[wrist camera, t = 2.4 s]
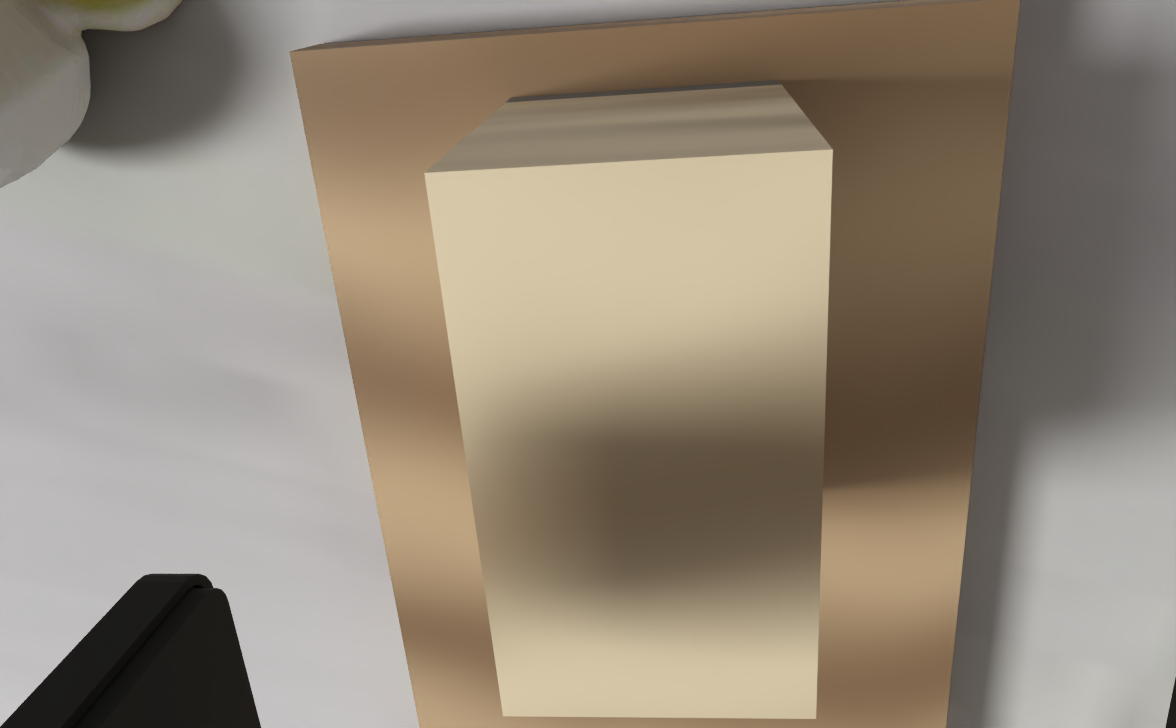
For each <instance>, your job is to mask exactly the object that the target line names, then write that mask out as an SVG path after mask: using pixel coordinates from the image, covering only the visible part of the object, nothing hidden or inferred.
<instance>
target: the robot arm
mask: <svg viewBox="0 0 1176 728" xmlns="http://www.w3.org/2000/svg"><path fill="white" fill-rule="evenodd" d="M0 728H261V726H260V722H259V718H258V714H257V710H256V706H255V703H254V699H253V695H252V691H251V687H250V683H249V679H248V676H247V672H246V668H245V664H244V660H243V656H242V652H241V649H240V645H239V641H238V637H237V633H236V629H235V625H234V622H233V618H232V614H231V610H230V606H229V602H228V599H227V597H226V594H225V593H224V592H223V591H222V590H221V589H218V588H213V586H212V583H211V582H210V580H209V579H208V578H207V577H206V576H204V575H201V574H149V575H145V576H143V577H142V578H140V579H139V580H138V581H137V582H136V583H135V584H134V585H133V586H132V587H131V588H130V589H129V590H128V591H127V592H126V593H125V594H124V595H123V596H122V598H121V599H120V600H119V601H118V602H117V603H116V604H115V605H114V606H113V607H112V608H111V609H110V610H109V611H108V612H107V614H106V615H105V616H104V617H103V618H102V619H101V620H100V621H99V622H98V623H97V624H96V625H95V626H94V627H93V628H92V630H91V631H90V632H89V633H88V634H87V635H86V636H85V637H84V638H83V639H82V640H81V641H80V642H79V643H78V645H77V646H76V647H75V648H74V649H73V650H72V651H71V652H70V653H69V654H68V655H67V656H66V657H65V658H64V659H63V661H62V662H61V663H60V664H59V665H58V666H57V667H56V668H55V669H54V670H53V671H52V672H51V673H50V674H49V675H48V677H47V678H46V679H45V680H44V681H43V682H42V683H41V684H40V685H39V686H38V687H37V688H36V689H35V690H34V691H33V693H32V694H31V695H30V696H29V697H28V698H27V699H26V700H25V701H24V702H23V703H22V704H21V705H20V706H19V707H18V709H17V710H16V711H15V712H14V713H13V714H12V715H11V716H10V717H9V718H8V719H7V720H6V721H5V722H4V723H3V725H2V726H1V727H0ZM1166 728H1176V679H1175V684H1174V689H1173V694H1172V698H1171V703H1170V708H1169V713H1168V718H1167V723H1166Z"/></svg>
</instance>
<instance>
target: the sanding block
mask: <svg viewBox="0 0 1176 728" xmlns="http://www.w3.org/2000/svg"><path fill="white" fill-rule="evenodd" d="M832 161H833V149H832V148H831V146H830V145H829V144H828V143H827V141H826V140H825V139H824V138H823V136H822V135H821V134H820V133H819V131H818V130H817V129H816V127H815V126H814V125H813V124H812V122H811V121H810V120H809V119H808V117H807V116H806V115H805V114H804V112H803V111H802V110H801V109H800V107H799V106H798V105H797V103H796V102H795V101H794V100H793V98H792V97H791V96H790V95H789V93H788V92H787V91H786V90H785V88H784V87H783V86H782V84H781V83H780V82H779V81H778V80H769V81H754V82H739V83H724V84H708V85H693V86H678V87H663V88H648V89H633V90H617V91H602V92H587V93H572V94H557V95H542V96H527V97H511V98H510V99H509V100H508V101H506V102H505V103H504V104H503V105H502V106H501V107H500V108H498V109H497V110H496V111H495V112H494V113H493V114H491V115H490V116H489V117H488V118H487V119H486V120H485V121H483V122H482V123H481V124H480V125H479V126H478V127H477V128H475V129H474V130H473V131H472V132H471V133H470V134H468V135H467V136H466V137H465V138H464V139H463V140H462V141H460V142H459V143H458V144H457V145H456V146H455V147H454V148H452V149H451V150H450V151H449V152H448V153H447V154H445V155H444V156H443V157H442V158H441V159H440V160H439V161H437V162H436V163H435V164H434V165H433V166H432V167H430V168H429V169H428V170H427V171H426V172H425V173H424V175H425V182H426V189H427V196H428V203H429V209H430V216H431V223H432V230H433V237H434V244H435V251H436V258H437V265H438V271H439V278H440V285H441V292H442V299H443V306H444V313H445V320H446V327H447V333H448V340H449V347H450V354H451V361H452V368H453V375H454V382H455V389H456V395H457V402H458V409H459V416H460V423H461V430H462V437H463V444H464V451H465V457H466V464H467V471H468V478H469V485H470V492H471V499H472V506H473V513H474V519H475V526H476V533H477V540H478V547H479V554H480V561H481V568H482V575H483V581H484V588H485V595H486V602H487V609H488V616H489V623H490V630H491V637H492V643H493V650H494V657H495V664H496V671H497V678H498V685H499V692H500V699H501V706H502V712H503V716H521V717H639V718H757V719H816V706H817V672H818V638H819V604H820V570H821V536H822V502H823V468H824V434H825V400H826V366H827V331H828V297H829V263H830V229H831V195H832Z"/></svg>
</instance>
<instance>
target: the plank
mask: <svg viewBox="0 0 1176 728" xmlns="http://www.w3.org/2000/svg"><path fill="white" fill-rule="evenodd" d="M1019 8H1020V0H906V1H893V2H879V3H866V4H852V5H839V6H825V7H812V8H798V9H785V10H771V11H758V12H744V13H731V14H717V15H704V16H691V17H677V18H664V19H650V20H637V21H623V22H610V23H596V24H583V25H569V26H556V27H542V28H529V29H515V30H502V31H488V32H475V33H461V34H448V35H434V36H421V37H407V38H394V39H380V40H367V41H353V42H340V43H326V44H318V45H314V46H310V47H306V48H302V49H298V50H294V51H291V52H290V57H291V62H292V67H293V72H294V77H295V83H296V88H297V93H298V98H299V103H300V109H301V114H302V119H303V124H304V129H305V135H306V140H307V145H308V150H309V155H310V160H311V166H312V171H313V176H314V181H315V186H316V192H317V197H318V202H319V207H320V212H321V218H322V223H323V228H324V233H325V238H326V243H327V249H328V254H329V259H330V264H331V269H332V275H333V280H334V285H335V290H336V295H337V301H338V306H339V311H340V316H341V321H342V326H343V332H344V337H345V342H346V347H347V352H348V358H349V363H350V368H351V373H352V378H353V384H354V389H355V394H356V399H357V404H358V409H359V415H360V420H361V425H362V430H363V435H364V441H365V446H366V451H367V456H368V461H369V467H370V472H371V477H372V482H373V487H374V493H375V498H376V503H377V508H378V513H379V518H380V524H381V529H382V534H383V539H384V544H385V550H386V555H387V560H388V565H389V570H390V576H391V581H392V586H393V591H394V596H395V601H396V607H397V612H398V617H399V622H400V627H401V633H402V638H403V643H404V648H405V653H406V659H407V664H408V669H409V674H410V679H411V684H412V690H413V695H414V700H415V705H416V710H417V716H418V721H419V726H420V728H946V722H947V712H948V702H949V692H950V683H951V673H952V663H953V653H954V643H955V634H956V624H957V614H958V604H959V594H960V585H961V575H962V565H963V555H964V546H965V536H966V526H967V516H968V506H969V497H970V487H971V477H972V467H973V458H974V448H975V438H976V428H977V418H978V409H979V399H980V389H981V379H982V370H983V360H984V350H985V340H986V330H987V321H988V311H989V301H990V291H991V282H992V272H993V262H994V252H995V242H996V233H997V223H998V213H999V203H1000V194H1001V184H1002V174H1003V164H1004V154H1005V145H1006V135H1007V125H1008V115H1009V106H1010V96H1011V86H1012V76H1013V66H1014V57H1015V47H1016V37H1017V27H1018V17H1019ZM769 80H778V81H779V82H780V83H781V84H782V86H783V87H784V88H785V90H786V91H787V92H788V93H789V95H790V96H791V97H792V98H793V100H794V101H795V102H796V103H797V105H798V106H799V107H800V109H801V110H802V111H803V112H804V114H805V115H806V116H807V117H808V119H809V120H810V121H811V122H812V124H813V125H814V126H815V127H816V129H817V130H818V131H819V133H820V134H821V135H822V136H823V138H824V139H825V140H826V141H827V143H828V144H829V145H830V146H831V148H832V149H833V161H832V195H831V229H830V263H829V297H828V331H827V366H826V400H825V434H824V468H823V502H822V536H821V570H820V604H819V638H818V672H817V706H816V719H757V718H639V717H521V716H503V712H502V706H501V699H500V692H499V685H498V678H497V671H496V664H495V657H494V650H493V643H492V637H491V630H490V623H489V616H488V609H487V602H486V595H485V588H484V581H483V575H482V568H481V561H480V554H479V547H478V540H477V533H476V526H475V519H474V513H473V506H472V499H471V492H470V485H469V478H468V471H467V464H466V457H465V451H464V444H463V437H462V430H461V423H460V416H459V409H458V402H457V395H456V389H455V382H454V375H453V368H452V361H451V354H450V347H449V340H448V333H447V327H446V320H445V313H444V306H443V299H442V292H441V285H440V278H439V271H438V265H437V258H436V251H435V244H434V237H433V230H432V223H431V216H430V209H429V203H428V196H427V189H426V182H425V175H424V173H425V172H426V171H427V170H428V169H429V168H430V167H432V166H433V165H434V164H435V163H436V162H437V161H439V160H440V159H441V158H442V157H443V156H444V155H445V154H447V153H448V152H449V151H450V150H451V149H452V148H454V147H455V146H456V145H457V144H458V143H459V142H460V141H462V140H463V139H464V138H465V137H466V136H467V135H468V134H470V133H471V132H472V131H473V130H474V129H475V128H477V127H478V126H479V125H480V124H481V123H482V122H483V121H485V120H486V119H487V118H488V117H489V116H490V115H491V114H493V113H494V112H495V111H496V110H497V109H498V108H500V107H501V106H502V105H503V104H504V103H505V102H506V101H508V100H509V99H510V98H511V97H527V96H542V95H557V94H572V93H587V92H602V91H617V90H633V89H648V88H663V87H678V86H693V85H708V84H724V83H739V82H754V81H769Z"/></svg>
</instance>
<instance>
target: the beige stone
mask: <svg viewBox="0 0 1176 728" xmlns="http://www.w3.org/2000/svg"><path fill="white" fill-rule="evenodd" d="M181 2H182V0H0V188H1V187H3V186H5V185H7V184H9V183H11V182H13V181H16V180H18V179H19V178H21V177H22V176H24V175H26V174H27V173H29V172H31V171H33V170H34V169H36V168H37V167H38V166H40V165H41V164H42V163H43V162H44V161H45V160H46V159H47V158H48V157H49V156H51V155H52V154H53V153H54V152H55V151H56V150H58V149H59V148H60V147H61V146H62V145H63V144H65V143H66V142H67V141H68V140H69V139H71V137H72V136H73V134H74V133H75V132H76V130H77V129H78V128H79V126H80V125H81V123H82V121H83V118H84V116H85V114H86V111H87V109H88V105H89V101H90V89H91V83H90V65H89V55H88V51H87V48H86V45H85V43H84V41H83V39H82V37H81V34H82V31H83V30H86V29H99V30H116V31H123V32H124V31H138V30H142V29H145V28H147V27H149V26H151V25H153V24H155V23H158V22H160V21H162V20H164V19H166V18H168V17H169V15H170V14H171V13H172V12H173V10H174V9H175V8H176V7H177V6H178V5H179V4H180V3H181Z"/></svg>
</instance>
